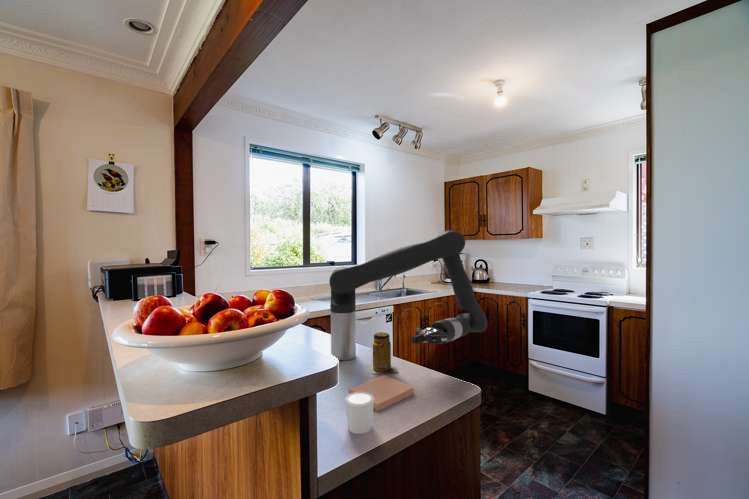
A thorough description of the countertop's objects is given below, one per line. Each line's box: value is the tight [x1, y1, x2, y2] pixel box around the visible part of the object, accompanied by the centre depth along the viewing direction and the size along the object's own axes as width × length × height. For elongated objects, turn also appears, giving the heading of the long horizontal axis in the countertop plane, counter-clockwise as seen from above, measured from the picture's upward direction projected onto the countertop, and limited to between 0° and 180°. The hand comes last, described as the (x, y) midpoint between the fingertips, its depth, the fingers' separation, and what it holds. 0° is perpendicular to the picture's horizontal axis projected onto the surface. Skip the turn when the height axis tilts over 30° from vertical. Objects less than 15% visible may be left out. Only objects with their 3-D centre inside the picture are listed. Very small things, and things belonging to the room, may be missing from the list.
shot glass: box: [344, 392, 374, 435], centre depth 80 cm, size 7×7×7 cm
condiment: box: [370, 332, 399, 375], centre depth 114 cm, size 7×8×12 cm
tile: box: [348, 374, 415, 412], centre depth 97 cm, size 2×12×14 cm
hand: (413, 340), depth 106 cm, fingers closed
